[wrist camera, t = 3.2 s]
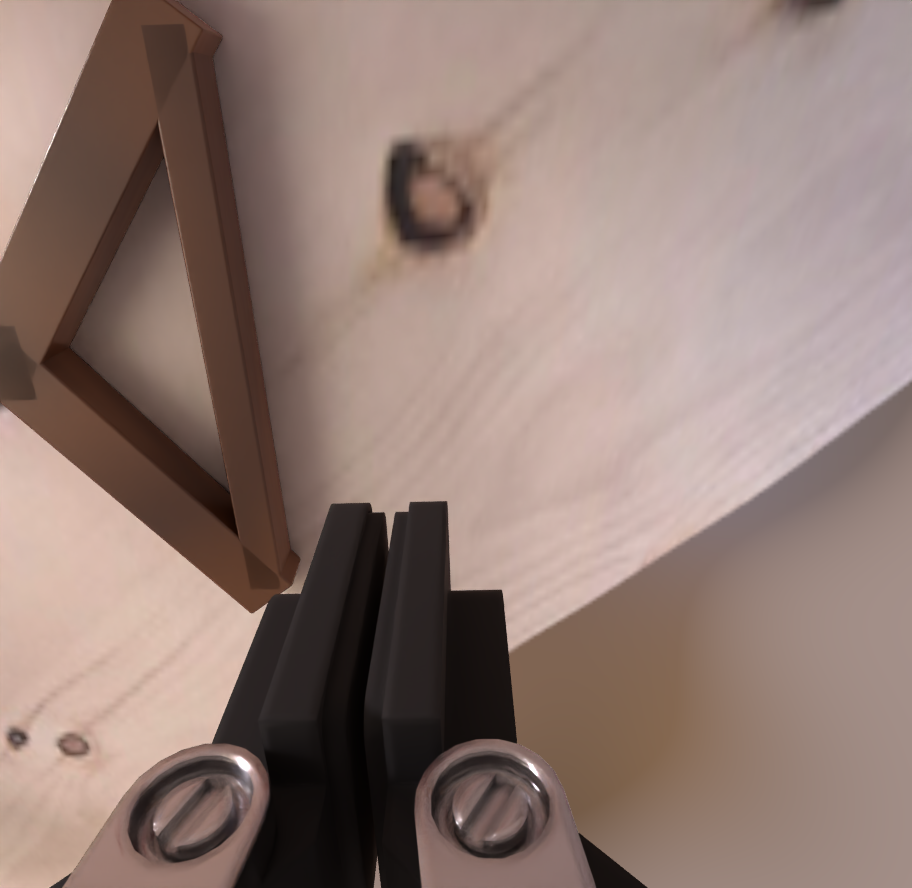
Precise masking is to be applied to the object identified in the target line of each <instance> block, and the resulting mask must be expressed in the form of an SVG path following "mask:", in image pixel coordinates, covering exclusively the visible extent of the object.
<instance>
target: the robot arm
mask: <svg viewBox="0 0 912 888" xmlns="http://www.w3.org/2000/svg"><path fill="white" fill-rule="evenodd" d="M377 856H378V864H379V873H380V881H381V888H647V887H646V886H645V885H643V884H642V883H641V882H640V881H639V880H637V879H636V878H635V877H633V876H632V875H631V874H630V873H629V872H627V871H626V870H624V868H622V867H621V866H620V865H619V864H617V863H616V862H615V861H613V860H612V859H611V858H610V857H609V856H607V855H606V854H605V853H603V852H602V851H601V850H600V849H598V848H597V847H596V846H595V845H593V844H592V843H591V842H590V841H588V840H587V839H586V838H584V837H583V836H582V835H581V834H580V833H578V831H577V828H576V825H575V822H574V819H573V816H572V813H571V810H570V807H569V804H568V801H567V798H566V795H565V792H564V789H563V787H562V785H561V783H560V781H559V779H558V777H557V775H556V773H555V772H554V770H553V769H552V768H551V767H550V766H549V765H548V764H547V763H546V762H545V761H544V760H543V759H542V758H541V757H540V756H539V755H538V754H536V753H534V752H532V751H531V750H529V749H527V748H525V747H523V746H522V745H520V744H517V738H516V727H515V717H514V706H513V696H512V685H511V675H510V664H509V654H508V643H507V633H506V622H505V612H504V601H503V593H502V590H467V591H451V585H450V558H449V530H448V506H447V501H437V502H410V505H409V512H396V513H395V517H394V523H393V529H392V535H391V541H390V547H389V550H388V538H387V526H386V517H385V513H384V512H381V513H372V508H371V504H370V503H344V504H331V506H330V509H329V512H328V515H327V518H326V521H325V524H324V527H323V530H322V533H321V536H320V539H319V541H318V544H317V547H316V550H315V553H314V556H313V559H312V562H311V565H310V568H309V571H308V574H307V577H306V580H305V583H304V586H303V589H302V592H301V594H275V595H274V596H272V597H271V599H270V601H269V602H268V604H267V607H266V609H265V612H264V614H263V617H262V619H261V622H260V624H259V627H258V629H257V632H256V634H255V637H254V639H253V642H252V644H251V647H250V649H249V652H248V654H247V657H246V659H245V662H244V664H243V667H242V669H241V672H240V674H239V677H238V679H237V682H236V684H235V687H234V689H233V692H232V694H231V697H230V699H229V702H228V704H227V707H226V709H225V712H224V714H223V717H222V719H221V722H220V724H219V727H218V729H217V732H216V734H215V737H214V739H213V742H212V744H203V745H199V746H195V747H191V748H188V749H184V750H181V751H179V752H177V753H175V754H173V755H171V756H169V757H167V758H165V759H163V760H161V761H159V762H158V763H157V764H155V765H154V766H153V767H152V768H150V769H149V770H148V771H146V772H145V773H144V774H143V775H141V776H140V777H139V778H138V779H137V780H136V782H135V783H134V784H133V785H132V786H131V787H130V789H129V790H128V791H127V792H126V793H125V795H124V796H123V797H122V799H121V800H120V802H119V803H118V805H117V806H116V808H115V809H114V811H113V812H112V814H111V815H110V817H109V818H108V820H107V821H106V823H105V824H104V826H103V827H102V829H101V830H100V832H99V833H98V835H97V836H96V838H95V839H94V841H93V842H92V844H91V845H90V847H89V848H88V850H87V851H86V853H85V854H84V856H83V857H82V859H81V860H80V862H79V863H78V865H77V866H76V868H75V869H74V871H73V872H72V873H71V874H69V875H68V876H66V877H65V878H63V879H62V880H60V881H59V882H57V883H56V884H54V885H53V886H51V887H50V888H374V880H375V871H376V862H377Z"/></svg>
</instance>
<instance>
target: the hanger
mask: <svg viewBox="0 0 912 888" xmlns="http://www.w3.org/2000/svg"><path fill="white" fill-rule="evenodd" d="M221 40H222V35H221V34H220V33H218V32H217V31H216V30H214V29H213V28H212V27H210V26H209V25H208V24H207V23H205V22H204V21H203V20H201V19H200V18H199V17H197V16H196V15H195V14H193V13H192V12H191V11H189V10H188V9H187V8H185V7H184V6H183V5H181V4H180V3H179V2H178V1H176V0H112V1H111V3H110V6H109V8H108V10H107V13H106V15H105V17H104V20H103V22H102V24H101V27H100V29H99V31H98V34H97V36H96V38H95V41H94V43H93V46H92V48H91V50H90V53H89V55H88V57H87V60H86V62H85V64H84V67H83V69H82V71H81V74H80V76H79V78H78V81H77V83H76V85H75V88H74V90H73V92H72V95H71V97H70V99H69V102H68V104H67V106H66V109H65V111H64V113H63V116H62V118H61V120H60V123H59V125H58V127H57V130H56V132H55V134H54V137H53V139H52V141H51V144H50V146H49V148H48V151H47V153H46V155H45V158H44V160H43V162H42V165H41V167H40V169H39V172H38V174H37V176H36V179H35V181H34V183H33V186H32V188H31V190H30V193H29V195H28V197H27V200H26V202H25V204H24V207H23V209H22V211H21V214H20V216H19V218H18V221H17V223H16V225H15V228H14V230H13V232H12V235H11V237H10V240H9V242H8V244H7V247H6V249H5V251H4V254H3V256H2V258H1V261H0V403H2V404H3V405H4V406H5V407H6V408H8V409H9V410H10V411H11V412H12V413H14V414H15V415H16V416H17V417H18V418H19V419H21V420H22V421H23V422H24V423H25V424H27V425H28V426H29V427H30V428H31V429H33V430H34V431H35V432H36V433H37V434H38V435H40V436H41V437H42V438H43V439H44V440H46V441H47V442H48V443H49V444H50V445H52V446H53V447H54V448H55V449H56V450H58V451H59V452H60V453H61V454H62V455H63V456H65V457H66V458H67V459H68V460H69V461H71V462H72V463H73V464H74V465H75V466H77V467H78V468H79V469H80V470H81V471H82V472H84V473H85V474H86V475H87V476H88V477H90V478H91V479H92V480H93V481H94V482H96V483H97V484H98V485H99V486H100V487H102V488H103V489H104V490H105V491H106V492H107V493H109V494H110V495H111V496H112V497H113V498H115V499H116V500H117V501H118V502H119V503H121V504H122V505H123V506H124V507H125V508H126V509H128V510H129V511H130V512H131V513H132V514H134V515H135V516H136V517H137V518H138V519H140V520H141V521H142V522H143V523H144V524H146V525H147V526H148V527H149V528H150V529H151V530H153V531H154V532H155V533H156V534H157V535H159V536H160V537H161V538H162V539H163V540H165V541H166V542H167V543H168V544H169V545H170V546H172V547H173V548H174V549H175V550H176V551H178V552H179V553H180V554H181V555H182V556H184V557H185V558H186V559H187V560H188V561H189V562H191V563H192V564H193V565H194V566H195V567H197V568H198V569H199V570H200V571H201V572H203V573H204V574H205V575H206V576H207V577H209V578H210V579H211V580H212V581H213V582H214V583H216V584H217V585H218V586H219V587H220V588H222V589H223V590H224V591H225V592H226V593H228V594H229V595H230V596H231V597H232V598H233V599H235V600H236V601H237V602H238V603H239V604H241V605H242V606H243V607H244V608H245V609H247V610H248V611H249V612H250V613H254V612H255V611H257V610H258V609H260V608H261V607H262V606H264V605H265V604H267V603H268V602H269V601H270V599H271V597H272V596H274V595H275V594H281V593H282V592H283V591H285V590H286V589H287V588H289V587H290V586H292V584H293V581H294V578H295V575H296V572H297V569H298V566H299V563H300V560H301V559H300V557H299V556H297V555H296V554H295V553H294V552H293V551H292V550H291V549H290V543H289V537H288V531H287V524H286V518H285V512H284V505H283V499H282V493H281V486H280V480H279V474H278V467H277V461H276V455H275V448H274V442H273V436H272V429H271V423H270V417H269V411H268V404H267V398H266V392H265V385H264V379H263V373H262V366H261V360H260V354H259V347H258V341H257V335H256V328H255V322H254V316H253V309H252V303H251V297H250V290H249V284H248V278H247V271H246V265H245V259H244V252H243V246H242V240H241V233H240V227H239V221H238V214H237V208H236V202H235V195H234V189H233V183H232V176H231V170H230V164H229V157H228V151H227V145H226V138H225V132H224V126H223V119H222V113H221V107H220V100H219V94H218V88H217V82H216V75H215V69H214V63H213V56H214V54H215V52H216V50H217V48H218V46H219V44H220V42H221ZM163 157H164V158H165V163H166V168H167V173H168V178H169V184H170V189H171V194H172V199H173V204H174V209H175V214H176V219H177V224H178V230H179V235H180V240H181V245H182V250H183V255H184V260H185V265H186V270H187V276H188V281H189V286H190V291H191V296H192V301H193V306H194V311H195V316H196V321H197V327H198V332H199V337H200V342H201V347H202V352H203V357H204V362H205V367H206V373H207V378H208V383H209V388H210V393H211V398H212V403H213V408H214V413H215V419H216V424H217V429H218V434H219V439H220V444H221V449H222V454H223V459H224V464H225V470H226V475H227V480H228V485H229V490H230V494H229V493H228V492H227V491H226V490H225V489H224V488H223V487H222V486H221V485H219V484H218V483H217V482H216V481H215V480H214V479H213V478H212V477H211V476H210V475H208V474H207V473H206V472H205V471H204V470H203V469H202V468H201V467H200V466H199V465H197V464H196V463H195V462H194V461H193V460H192V459H191V458H190V457H189V456H188V455H186V454H185V453H184V452H183V451H182V450H181V449H180V448H179V447H178V446H177V445H175V444H174V443H173V442H172V441H171V440H170V439H169V438H168V437H167V436H166V435H164V434H163V433H162V432H161V431H160V430H159V429H158V428H157V427H156V426H155V425H154V424H152V423H151V422H150V421H149V420H148V419H147V418H146V417H145V416H144V415H143V414H141V413H140V412H139V411H138V410H137V409H136V408H135V407H134V406H133V405H132V404H130V403H129V402H128V401H127V400H126V399H125V398H124V397H123V396H122V395H121V394H119V393H118V392H117V391H116V390H115V389H114V388H113V387H112V386H111V385H110V384H108V383H107V382H106V381H105V380H104V379H103V378H102V377H101V376H100V375H99V374H97V373H96V372H95V371H94V370H93V369H92V368H91V367H90V366H89V365H88V364H86V363H85V362H84V361H83V360H82V359H81V358H80V357H79V356H78V355H77V354H75V353H74V352H73V351H72V350H71V349H70V348H69V346H70V344H71V342H72V340H73V338H74V336H75V334H76V332H77V330H78V328H79V326H80V324H81V322H82V320H83V318H84V316H85V314H86V312H87V310H88V308H89V306H90V304H91V302H92V300H93V298H94V296H95V294H96V292H97V290H98V287H99V285H100V283H101V281H102V279H103V277H104V275H105V273H106V271H107V269H108V267H109V265H110V263H111V261H112V259H113V257H114V255H115V253H116V251H117V249H118V247H119V245H120V243H121V241H122V239H123V237H124V235H125V233H126V231H127V229H128V227H129V225H130V223H131V221H132V219H133V217H134V215H135V213H136V211H137V209H138V207H139V205H140V203H141V201H142V199H143V197H144V195H145V193H146V191H147V189H148V187H149V185H150V183H151V181H152V179H153V177H154V175H155V173H156V171H157V169H158V167H159V165H160V163H161V161H162V159H163Z"/></svg>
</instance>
